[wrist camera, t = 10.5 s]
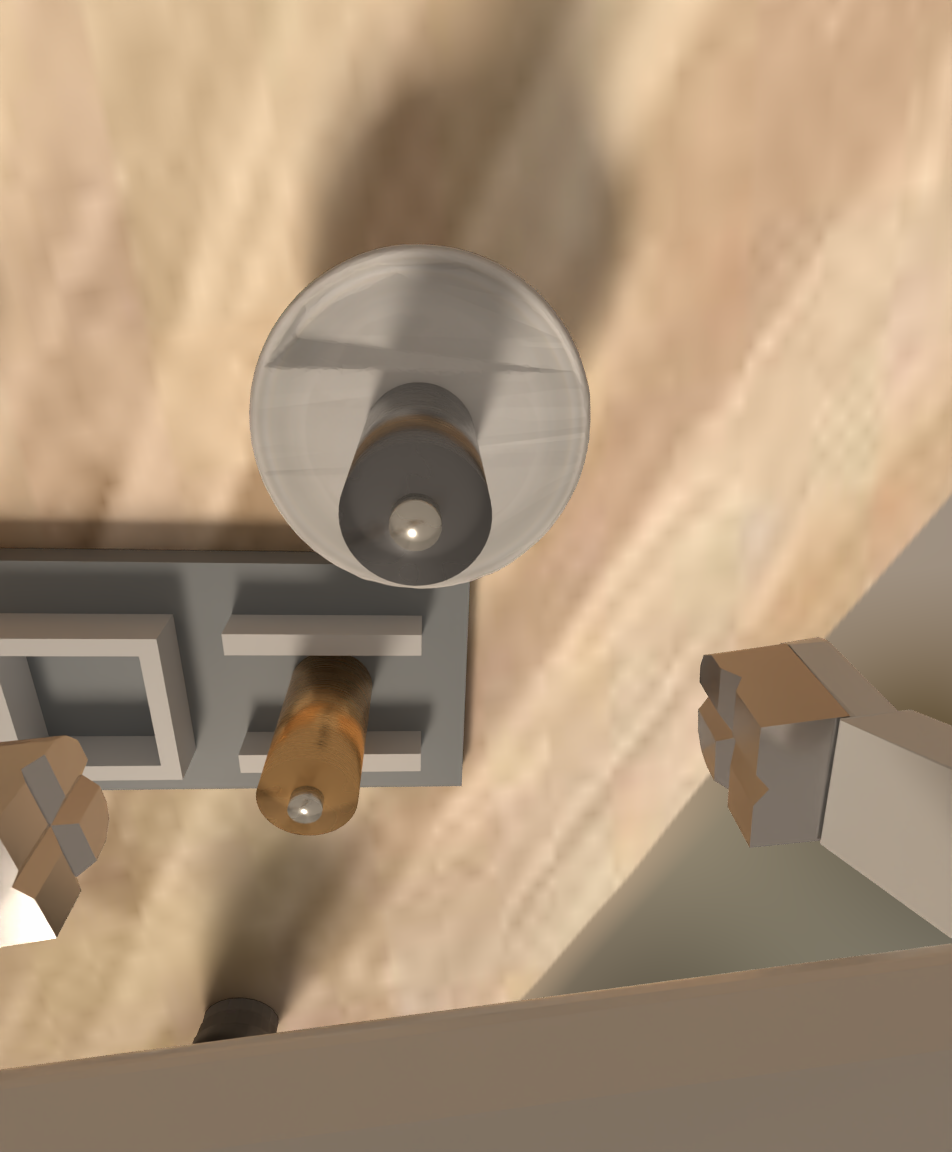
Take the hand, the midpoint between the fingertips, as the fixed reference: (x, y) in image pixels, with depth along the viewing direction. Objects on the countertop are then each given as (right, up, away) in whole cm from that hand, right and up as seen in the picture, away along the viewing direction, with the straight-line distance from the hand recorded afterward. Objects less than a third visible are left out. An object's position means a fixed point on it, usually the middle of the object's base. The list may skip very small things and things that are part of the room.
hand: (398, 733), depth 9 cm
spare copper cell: (-5, -3, +22) cm, 23 cm away
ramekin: (-1, +9, +18) cm, 21 cm away
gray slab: (-10, -2, +23) cm, 25 cm away
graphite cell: (-1, +7, +14) cm, 15 cm away
